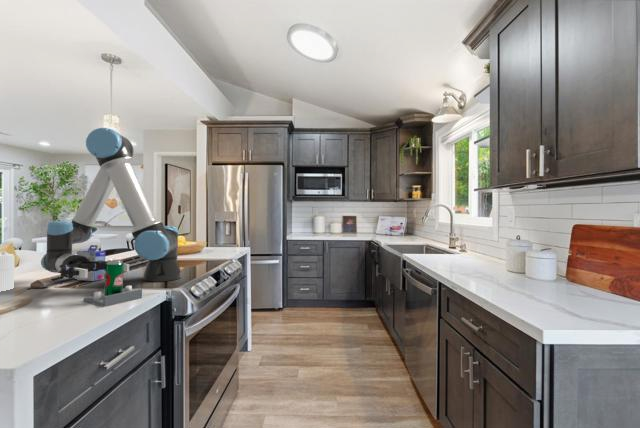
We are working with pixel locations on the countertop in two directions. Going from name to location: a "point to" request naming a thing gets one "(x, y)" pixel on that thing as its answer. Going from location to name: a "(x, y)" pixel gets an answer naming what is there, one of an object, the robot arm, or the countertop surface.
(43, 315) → the countertop surface
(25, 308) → the countertop surface
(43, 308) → the countertop surface
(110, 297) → the dock
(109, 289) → the soda can
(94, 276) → the ink cartridge box
